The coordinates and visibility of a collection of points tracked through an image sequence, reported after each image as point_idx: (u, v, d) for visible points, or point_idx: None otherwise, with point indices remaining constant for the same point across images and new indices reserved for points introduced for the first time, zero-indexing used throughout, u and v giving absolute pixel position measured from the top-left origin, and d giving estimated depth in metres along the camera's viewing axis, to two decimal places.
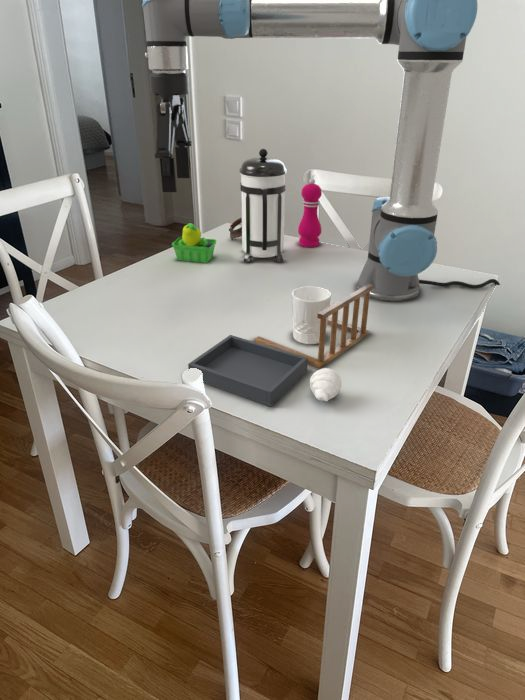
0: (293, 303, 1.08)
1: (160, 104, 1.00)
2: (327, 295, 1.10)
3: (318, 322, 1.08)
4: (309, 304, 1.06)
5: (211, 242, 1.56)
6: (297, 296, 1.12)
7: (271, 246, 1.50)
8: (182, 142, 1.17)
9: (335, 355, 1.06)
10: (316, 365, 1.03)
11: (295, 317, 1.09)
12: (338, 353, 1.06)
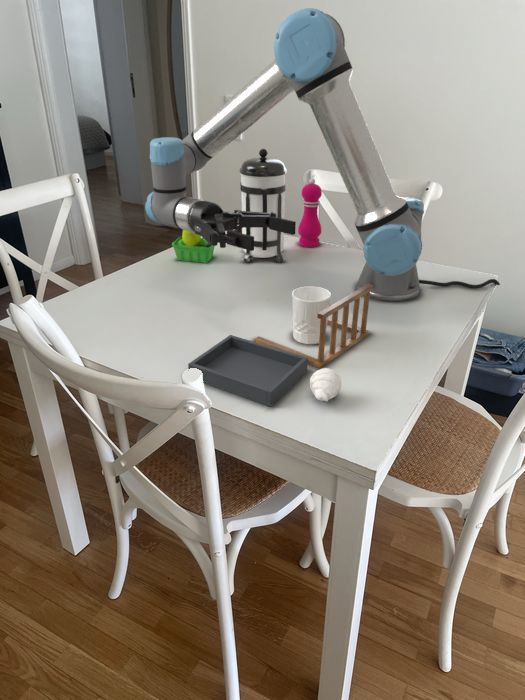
0: (293, 303, 1.08)
1: (195, 229, 1.14)
2: (327, 295, 1.10)
3: (318, 322, 1.08)
4: (309, 304, 1.06)
5: None
6: (297, 296, 1.12)
7: (271, 246, 1.50)
8: (268, 220, 1.18)
9: (335, 355, 1.06)
10: (316, 365, 1.03)
11: (295, 317, 1.09)
12: (338, 353, 1.06)
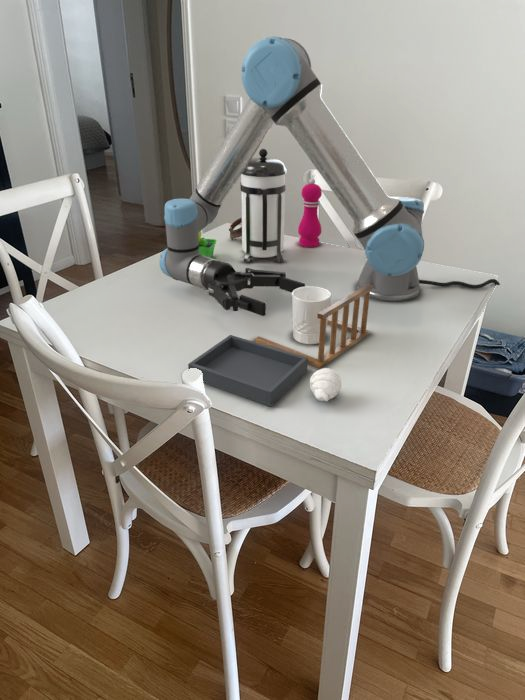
0: (293, 303, 1.08)
1: (208, 291, 1.18)
2: (327, 295, 1.10)
3: (318, 322, 1.08)
4: (309, 304, 1.06)
5: (211, 242, 1.56)
6: (297, 296, 1.12)
7: (271, 246, 1.50)
8: (278, 280, 1.23)
9: (335, 355, 1.06)
10: (316, 365, 1.03)
11: (295, 317, 1.09)
12: (338, 353, 1.06)
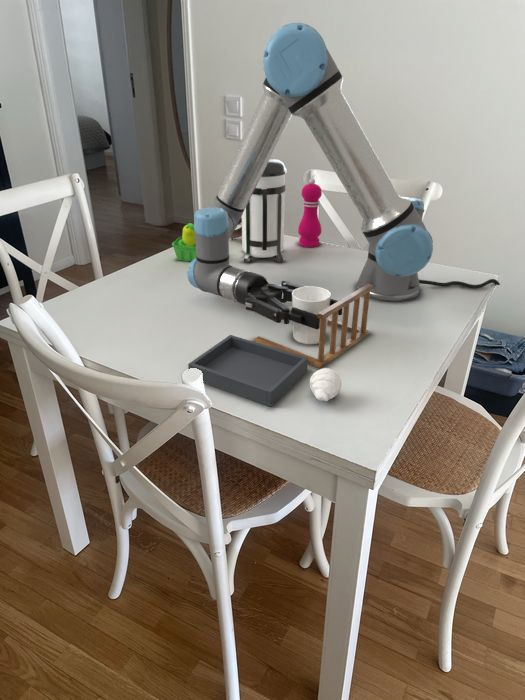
0: (293, 303, 1.08)
1: (246, 306, 1.12)
2: (327, 295, 1.10)
3: None
4: (309, 304, 1.06)
5: None
6: (297, 296, 1.12)
7: (271, 246, 1.50)
8: None
9: (335, 355, 1.06)
10: (316, 365, 1.03)
11: None
12: (338, 353, 1.06)
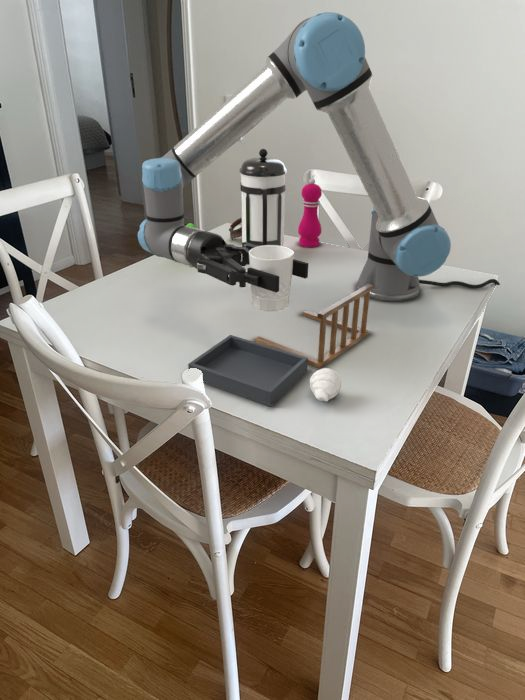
0: (250, 263, 0.94)
1: (198, 267, 0.98)
2: (290, 255, 0.95)
3: (279, 285, 0.93)
4: (267, 263, 0.91)
5: None
6: (256, 256, 0.97)
7: None
8: None
9: (335, 355, 1.06)
10: (316, 365, 1.03)
11: None
12: (338, 353, 1.06)
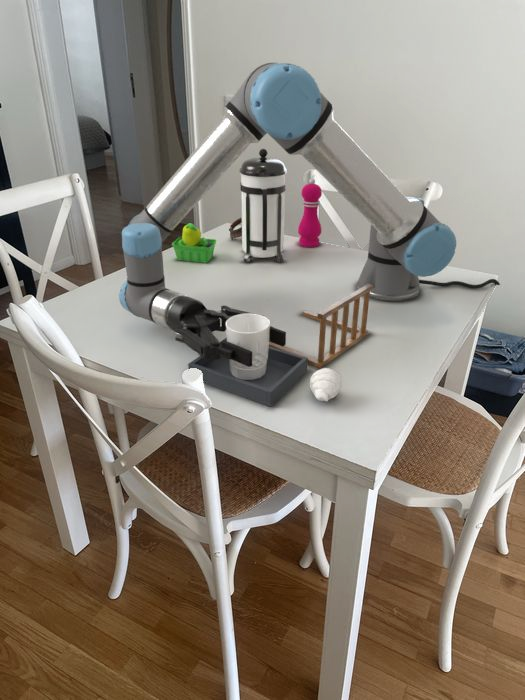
0: (227, 334, 0.95)
1: (175, 336, 0.99)
2: (267, 324, 0.96)
3: (255, 356, 0.94)
4: (243, 336, 0.92)
5: (211, 242, 1.56)
6: (233, 325, 0.98)
7: (271, 246, 1.50)
8: None
9: (335, 355, 1.06)
10: (316, 365, 1.03)
11: None
12: (338, 353, 1.06)
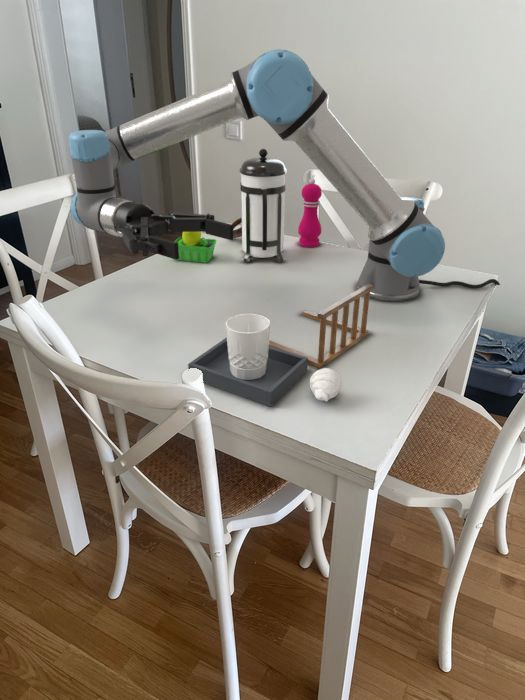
0: (227, 334, 0.95)
1: (117, 235, 0.99)
2: (267, 324, 0.96)
3: (255, 356, 0.94)
4: (243, 336, 0.92)
5: (211, 242, 1.56)
6: (233, 325, 0.98)
7: (271, 246, 1.50)
8: (204, 224, 1.03)
9: (335, 355, 1.06)
10: (316, 365, 1.03)
11: (230, 350, 0.96)
12: (338, 353, 1.06)
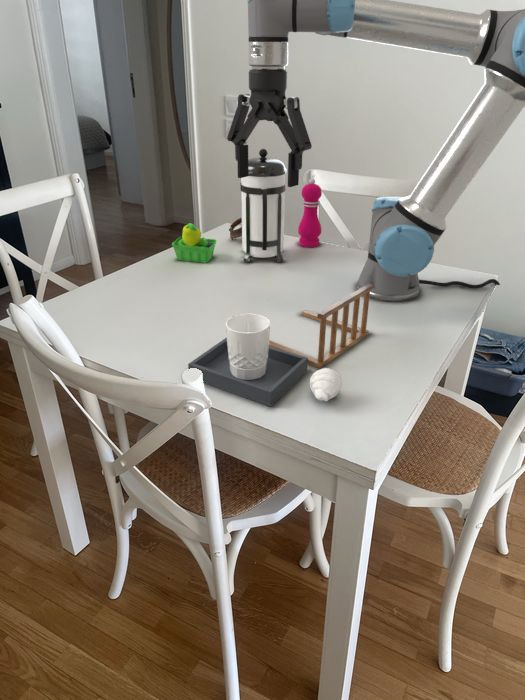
0: (227, 334, 0.95)
1: (294, 99, 1.02)
2: (267, 324, 0.96)
3: (255, 356, 0.94)
4: (243, 336, 0.92)
5: (211, 242, 1.56)
6: (234, 325, 0.98)
7: (271, 246, 1.50)
8: (241, 140, 1.14)
9: (335, 355, 1.06)
10: (316, 365, 1.03)
11: (230, 350, 0.96)
12: (338, 353, 1.06)
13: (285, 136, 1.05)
